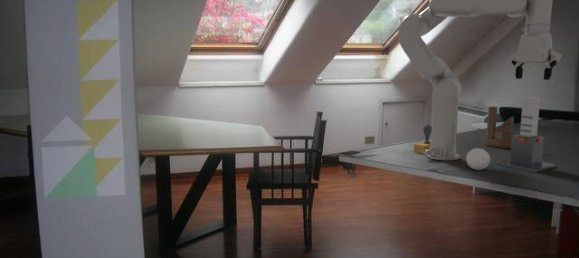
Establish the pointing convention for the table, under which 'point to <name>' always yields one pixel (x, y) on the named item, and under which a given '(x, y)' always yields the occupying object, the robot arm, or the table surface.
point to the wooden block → (498, 130)
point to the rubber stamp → (424, 145)
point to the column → (529, 117)
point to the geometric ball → (478, 159)
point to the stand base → (527, 154)
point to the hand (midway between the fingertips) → (532, 79)
